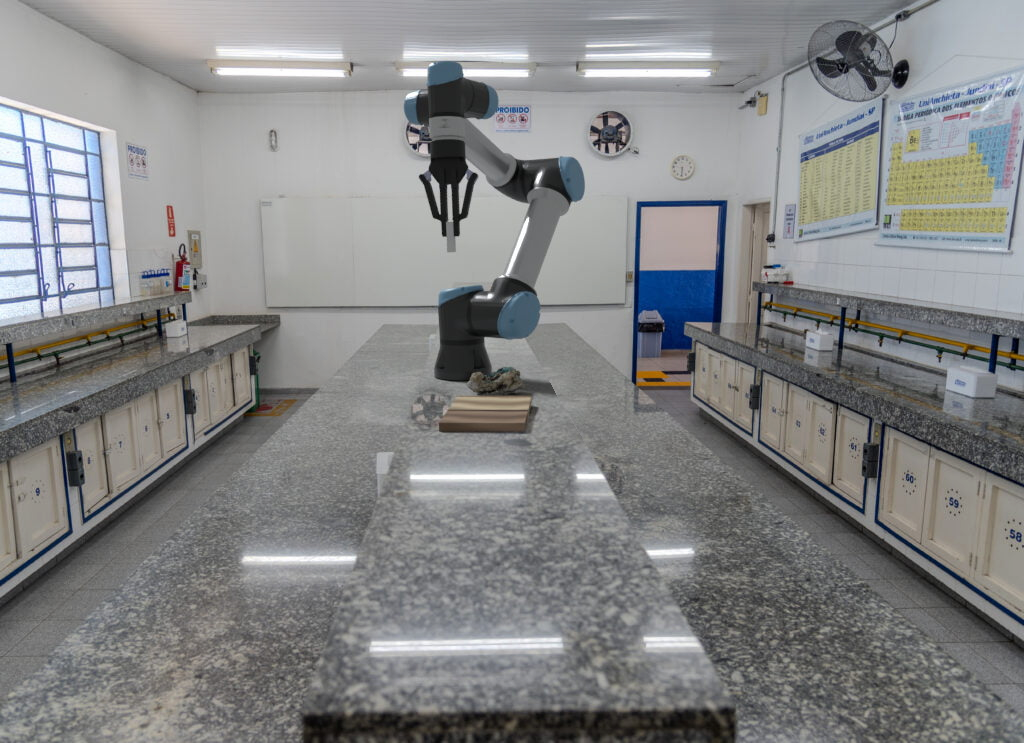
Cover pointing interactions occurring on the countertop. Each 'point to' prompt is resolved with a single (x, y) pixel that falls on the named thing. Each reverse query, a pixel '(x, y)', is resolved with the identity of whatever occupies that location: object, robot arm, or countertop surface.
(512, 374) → the mineral specimen
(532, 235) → the robot arm
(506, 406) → the board
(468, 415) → the floor board
